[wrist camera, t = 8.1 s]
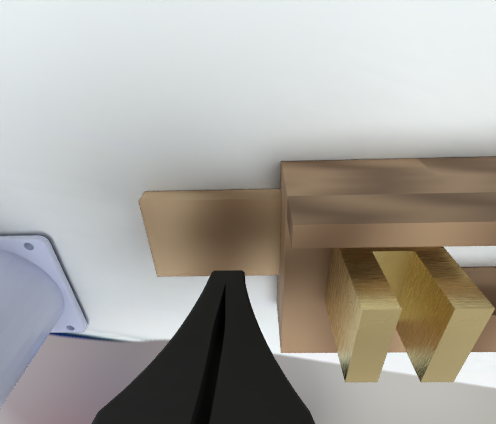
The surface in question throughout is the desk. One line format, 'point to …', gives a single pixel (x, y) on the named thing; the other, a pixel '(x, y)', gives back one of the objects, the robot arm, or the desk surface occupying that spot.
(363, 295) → the clip
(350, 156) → the desk surface
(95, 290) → the desk surface
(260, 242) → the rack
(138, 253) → the desk surface
